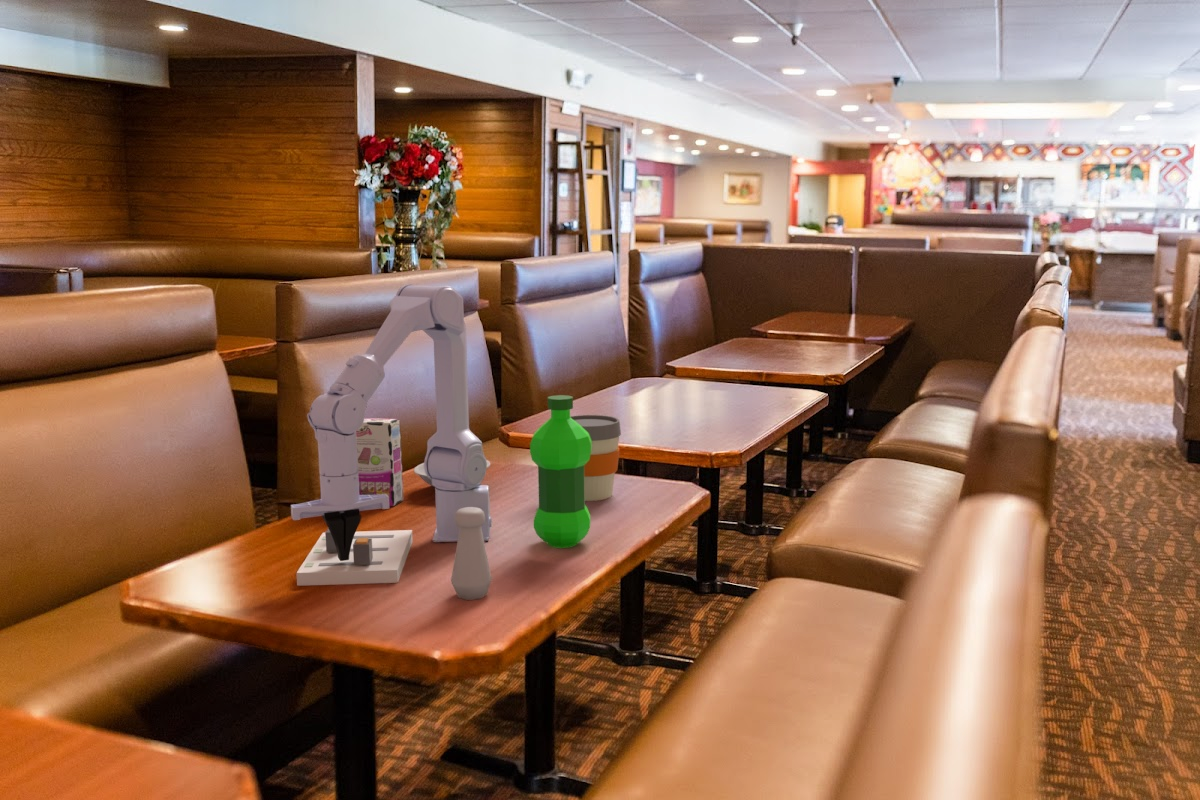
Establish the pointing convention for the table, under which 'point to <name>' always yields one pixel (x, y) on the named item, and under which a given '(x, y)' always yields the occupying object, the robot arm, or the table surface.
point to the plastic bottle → (561, 476)
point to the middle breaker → (330, 542)
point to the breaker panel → (382, 569)
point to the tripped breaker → (362, 551)
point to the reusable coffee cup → (600, 454)
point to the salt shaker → (470, 556)
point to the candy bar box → (380, 458)
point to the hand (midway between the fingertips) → (343, 558)
